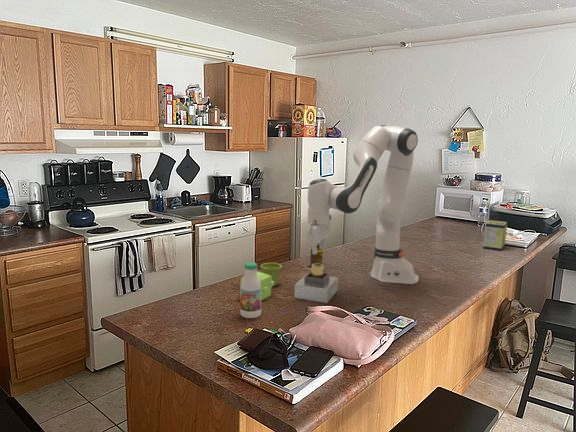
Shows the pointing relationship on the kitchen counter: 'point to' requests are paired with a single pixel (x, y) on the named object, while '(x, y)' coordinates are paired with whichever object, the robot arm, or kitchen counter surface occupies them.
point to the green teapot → (263, 284)
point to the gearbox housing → (316, 288)
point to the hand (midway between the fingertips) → (318, 250)
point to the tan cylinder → (317, 270)
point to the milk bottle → (250, 292)
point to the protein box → (495, 235)
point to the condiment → (315, 257)
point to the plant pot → (272, 271)
